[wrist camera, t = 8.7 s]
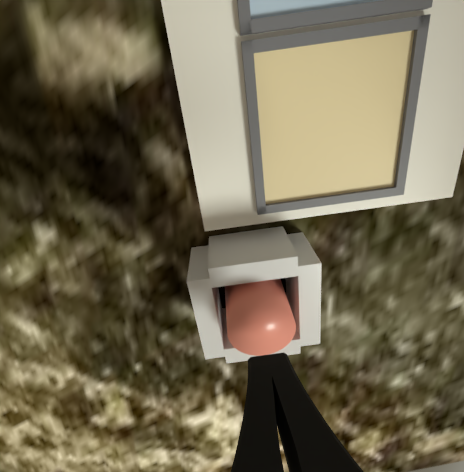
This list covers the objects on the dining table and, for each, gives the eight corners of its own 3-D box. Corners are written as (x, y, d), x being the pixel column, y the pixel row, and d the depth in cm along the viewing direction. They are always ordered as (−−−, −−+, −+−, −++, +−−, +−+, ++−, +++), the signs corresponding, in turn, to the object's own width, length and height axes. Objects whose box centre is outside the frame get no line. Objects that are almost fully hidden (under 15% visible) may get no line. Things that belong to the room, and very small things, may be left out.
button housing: (302, 223, 15) (321, 253, 12) (303, 310, 18) (320, 350, 15) (189, 239, 15) (184, 272, 12) (208, 323, 18) (206, 366, 15)
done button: (280, 260, 15) (294, 299, 12) (283, 306, 16) (297, 350, 13) (221, 268, 15) (222, 309, 12) (228, 314, 16) (231, 359, 13)
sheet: (558, -345, 8) (598, -396, 7) (443, 193, 15) (456, 199, 14) (111, -276, 8) (99, -318, 7) (205, 226, 15) (204, 234, 14)
